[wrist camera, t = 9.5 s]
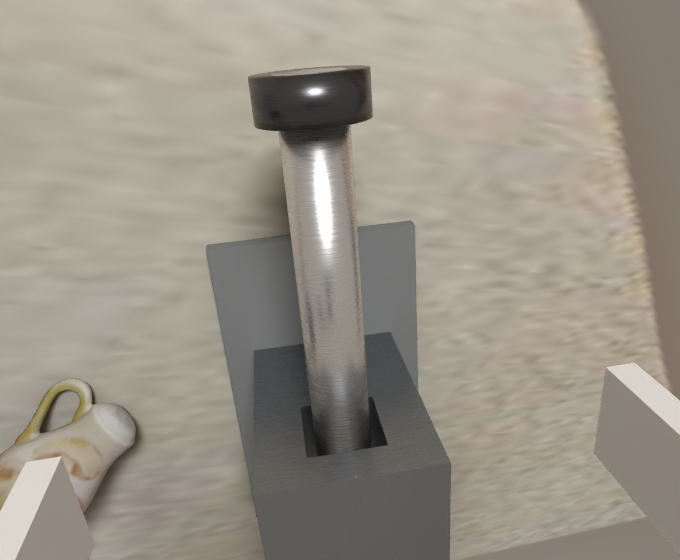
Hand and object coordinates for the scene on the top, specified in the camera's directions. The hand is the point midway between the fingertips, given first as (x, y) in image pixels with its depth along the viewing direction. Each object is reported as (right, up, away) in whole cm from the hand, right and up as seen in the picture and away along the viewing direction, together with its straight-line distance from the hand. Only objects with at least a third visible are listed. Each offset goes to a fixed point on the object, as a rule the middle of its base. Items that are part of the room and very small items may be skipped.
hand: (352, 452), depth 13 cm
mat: (-1, -3, +29) cm, 29 cm away
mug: (-20, -7, +28) cm, 35 cm away
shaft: (-1, +3, +17) cm, 18 cm away
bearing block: (-1, -3, +29) cm, 29 cm away
